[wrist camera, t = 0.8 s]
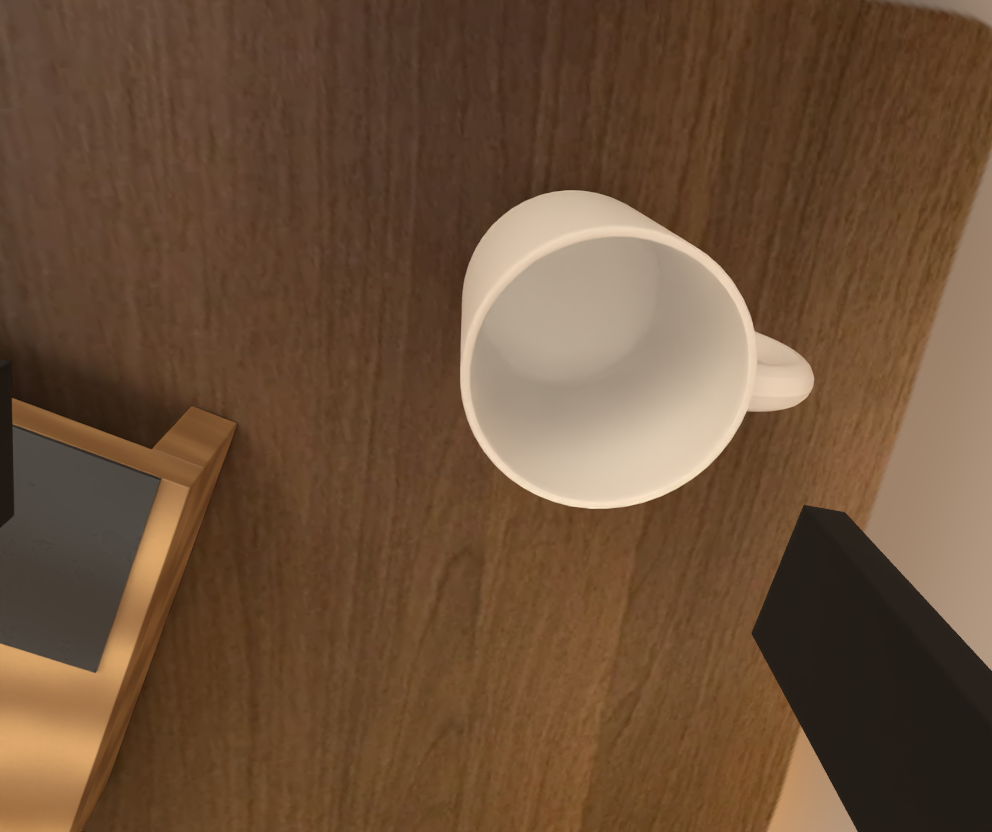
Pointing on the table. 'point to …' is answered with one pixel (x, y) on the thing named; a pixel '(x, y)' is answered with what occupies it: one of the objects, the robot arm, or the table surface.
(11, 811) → the shelf
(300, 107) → the table surface
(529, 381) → the mug
